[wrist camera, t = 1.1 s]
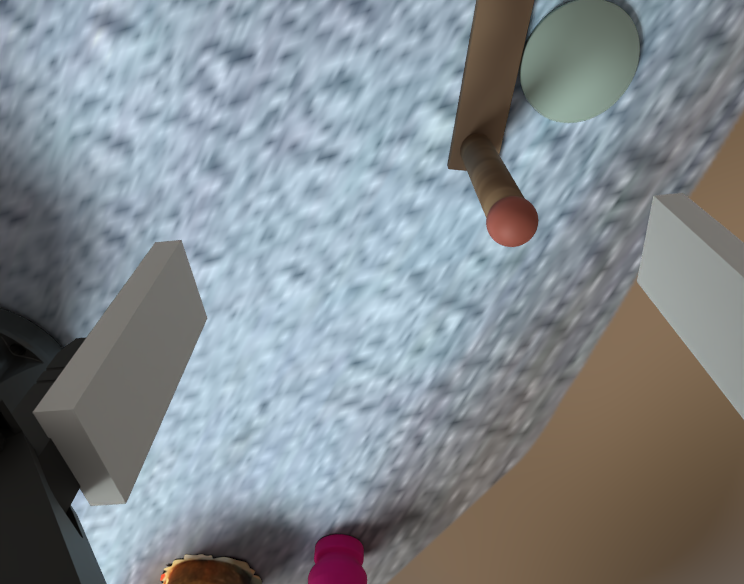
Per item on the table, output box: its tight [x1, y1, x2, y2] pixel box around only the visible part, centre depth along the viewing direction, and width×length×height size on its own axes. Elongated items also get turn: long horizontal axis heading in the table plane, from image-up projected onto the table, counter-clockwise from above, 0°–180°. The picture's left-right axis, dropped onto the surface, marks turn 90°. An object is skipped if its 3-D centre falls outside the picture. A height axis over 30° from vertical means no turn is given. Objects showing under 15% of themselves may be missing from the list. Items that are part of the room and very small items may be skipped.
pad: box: [519, 0, 640, 123], centre depth 38 cm, size 8×8×1 cm
